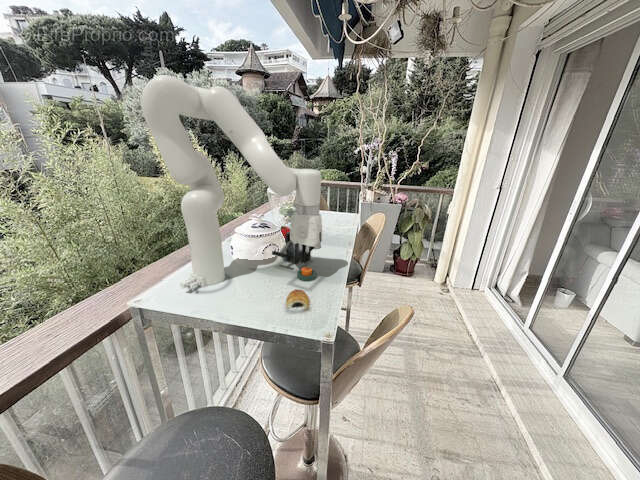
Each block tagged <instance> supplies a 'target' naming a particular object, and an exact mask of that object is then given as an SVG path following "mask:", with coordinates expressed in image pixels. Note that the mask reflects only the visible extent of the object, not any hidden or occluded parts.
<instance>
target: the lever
mask: <svg viewBox="0 0 640 480" xmlns="http://www.w3.org/2000/svg"><path fill="white" fill-rule="evenodd" d="M289 238H290V237H289ZM291 244H292V241H291V240H289V242H288V243H287V244H286V243H285V245H283V247H282V249H280V250H279V251H276V250H272V252H271V255H272V256H276V257H280V258H284V259H286V258H287V257H288V254H286V250H287V249H288V247H289V246H290V245H291Z"/></svg>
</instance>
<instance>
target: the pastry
mask: <svg viewBox="0 0 640 480" xmlns="http://www.w3.org/2000/svg"><path fill="white" fill-rule="evenodd" d="M309 306H310V298H309V296H308V295H307V294H306V292H305V290H302V289H297V288H296V289H293V290H292V291H290V292H289V293H288V295H287V297H286V308H288V309H294V308H298V307H299V308H300V307H302V308H304V309H303V311H306V310H307V309H308V308H309Z"/></svg>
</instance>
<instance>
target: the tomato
mask: <svg viewBox="0 0 640 480" xmlns="http://www.w3.org/2000/svg"><path fill="white" fill-rule="evenodd" d="M280 227H281V232H282V234H283V236H284V238H285V241H284V242H286V233H288V232H290V227H288V226H287V225H286V226H284V225H282V226H280Z"/></svg>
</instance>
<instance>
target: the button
mask: <svg viewBox="0 0 640 480" xmlns="http://www.w3.org/2000/svg"><path fill="white" fill-rule="evenodd" d="M301 269H302V275H304V276H309V275H312V270H313V268H312V267H309V266H304V267H302V268H301Z"/></svg>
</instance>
